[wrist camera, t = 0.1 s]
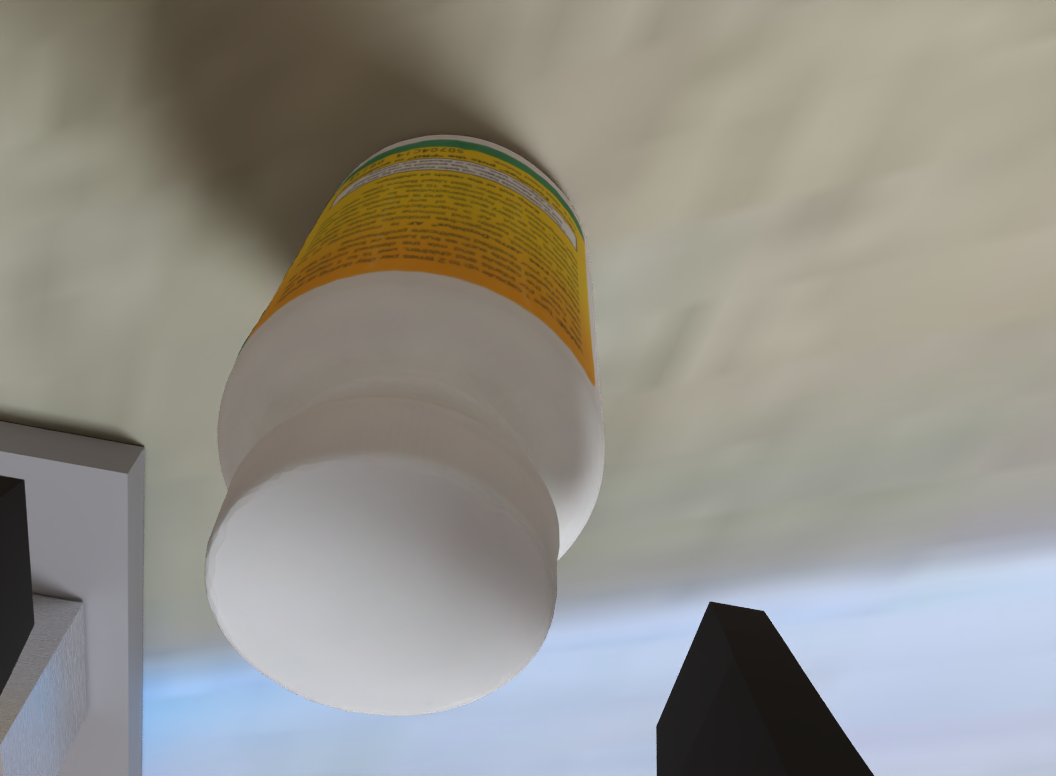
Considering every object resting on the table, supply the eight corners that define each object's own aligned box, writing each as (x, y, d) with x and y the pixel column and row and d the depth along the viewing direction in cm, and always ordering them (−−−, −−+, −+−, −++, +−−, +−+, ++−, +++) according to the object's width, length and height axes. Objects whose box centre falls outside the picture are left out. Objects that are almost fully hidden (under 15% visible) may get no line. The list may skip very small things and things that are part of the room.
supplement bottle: (604, 359, 20) (642, 740, 12) (356, 391, 21) (229, 778, 12) (569, 103, 17) (585, 371, 9) (284, 148, 18) (61, 438, 10)
